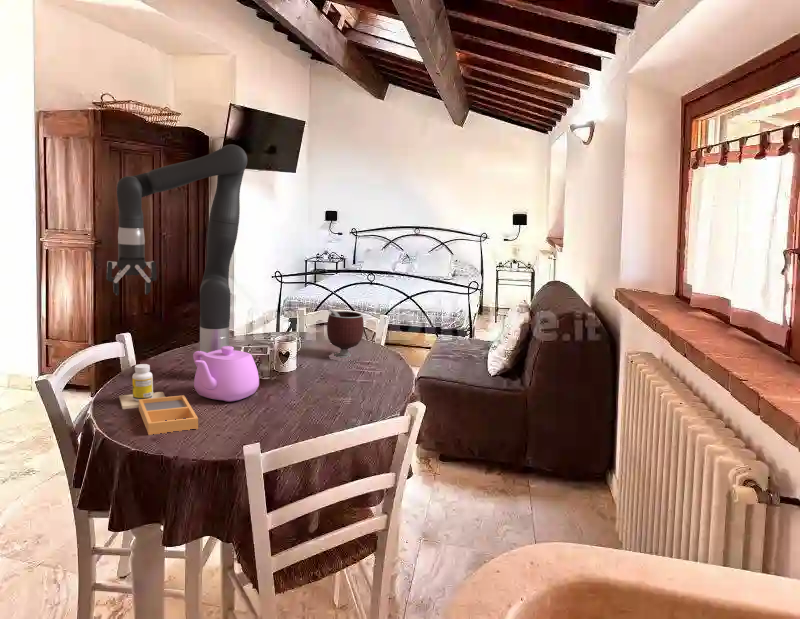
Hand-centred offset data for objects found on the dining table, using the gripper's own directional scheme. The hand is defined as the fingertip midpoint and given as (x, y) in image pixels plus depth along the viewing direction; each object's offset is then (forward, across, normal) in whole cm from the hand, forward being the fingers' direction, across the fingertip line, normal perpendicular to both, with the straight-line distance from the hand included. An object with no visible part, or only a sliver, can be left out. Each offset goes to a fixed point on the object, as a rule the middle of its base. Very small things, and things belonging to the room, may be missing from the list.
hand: (132, 294), depth 199 cm
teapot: (+28, -23, +26) cm, 44 cm away
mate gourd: (+27, -75, -5) cm, 80 cm away
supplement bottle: (+27, 0, +24) cm, 36 cm away
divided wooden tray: (+27, -3, +41) cm, 49 cm away
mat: (+27, 0, +24) cm, 36 cm away
